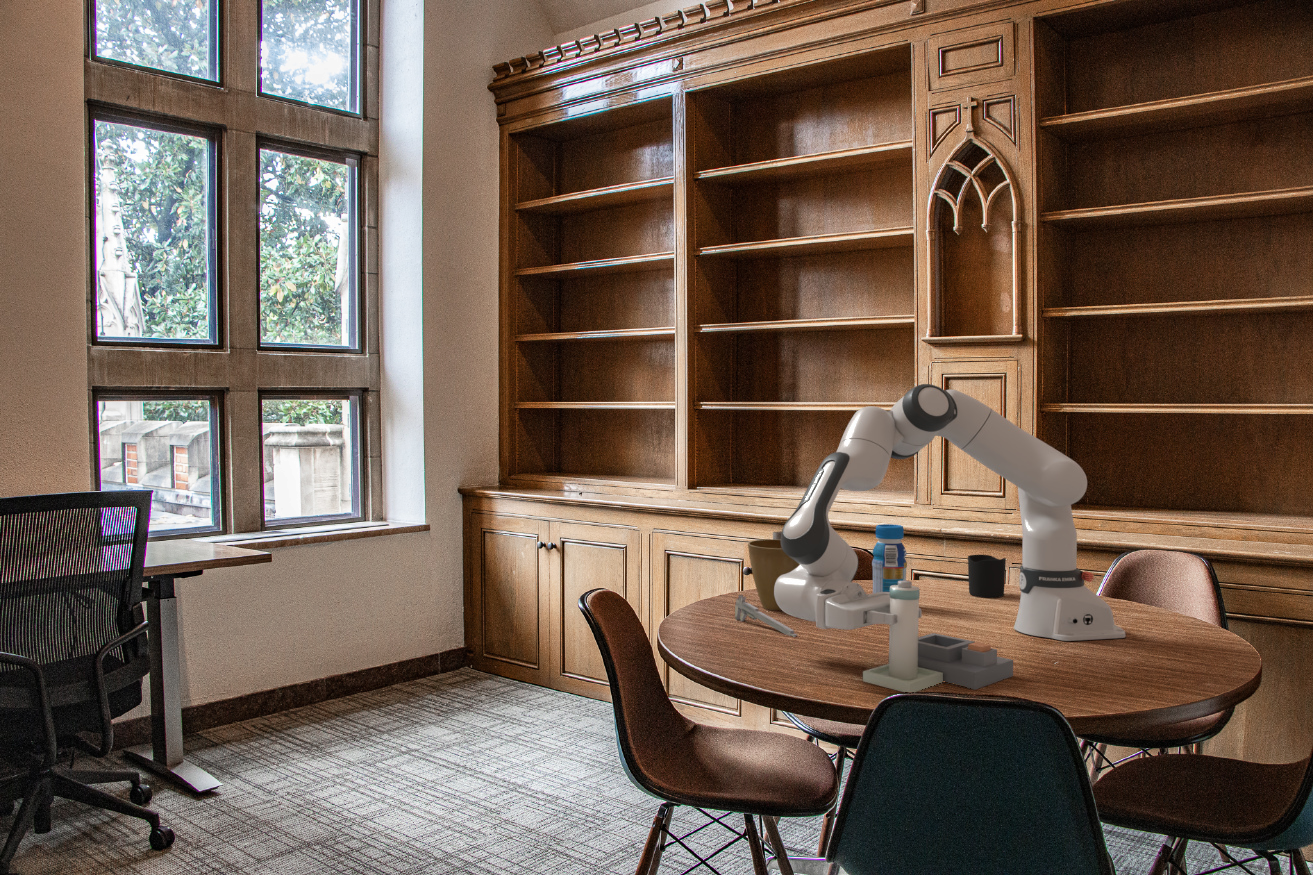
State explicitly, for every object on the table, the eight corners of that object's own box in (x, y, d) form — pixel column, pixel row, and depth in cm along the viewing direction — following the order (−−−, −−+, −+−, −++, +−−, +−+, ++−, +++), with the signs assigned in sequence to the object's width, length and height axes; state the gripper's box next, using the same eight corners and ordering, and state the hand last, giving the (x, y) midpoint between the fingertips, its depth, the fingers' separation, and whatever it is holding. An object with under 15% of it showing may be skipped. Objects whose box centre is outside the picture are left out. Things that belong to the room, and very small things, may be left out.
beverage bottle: (865, 605, 238) (865, 525, 237) (884, 600, 244) (885, 522, 243) (894, 610, 232) (894, 528, 231) (913, 605, 237) (913, 525, 237)
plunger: (976, 658, 175) (976, 641, 175) (990, 661, 173) (990, 644, 173) (968, 660, 173) (968, 644, 173) (982, 663, 171) (982, 647, 171)
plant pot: (737, 609, 233) (737, 544, 232) (763, 599, 245) (763, 537, 245) (794, 616, 225) (794, 549, 224) (817, 605, 238) (818, 541, 237)
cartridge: (913, 672, 174) (915, 579, 174) (921, 679, 169) (923, 584, 169) (884, 672, 174) (886, 579, 174) (892, 679, 169) (894, 583, 168)
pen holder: (1003, 592, 254) (1003, 555, 254) (1007, 599, 245) (1007, 560, 245) (966, 591, 256) (966, 554, 256) (969, 597, 247) (969, 559, 247)
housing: (928, 656, 189) (928, 629, 188) (1013, 676, 175) (1013, 646, 175) (888, 668, 180) (888, 639, 180) (974, 689, 166) (975, 658, 166)
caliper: (734, 620, 222) (734, 594, 222) (738, 620, 223) (738, 593, 222) (794, 638, 205) (794, 609, 205) (798, 637, 206) (798, 608, 205)
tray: (895, 671, 178) (895, 661, 178) (942, 682, 171) (942, 672, 171) (862, 681, 172) (862, 671, 172) (910, 693, 164) (910, 683, 164)
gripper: (878, 613, 188) (940, 625, 177) (810, 629, 174) (873, 643, 164) (878, 581, 187) (940, 591, 177) (810, 594, 174) (873, 606, 164)
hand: (907, 616), depth 170 cm, fingers open, 6 cm apart
